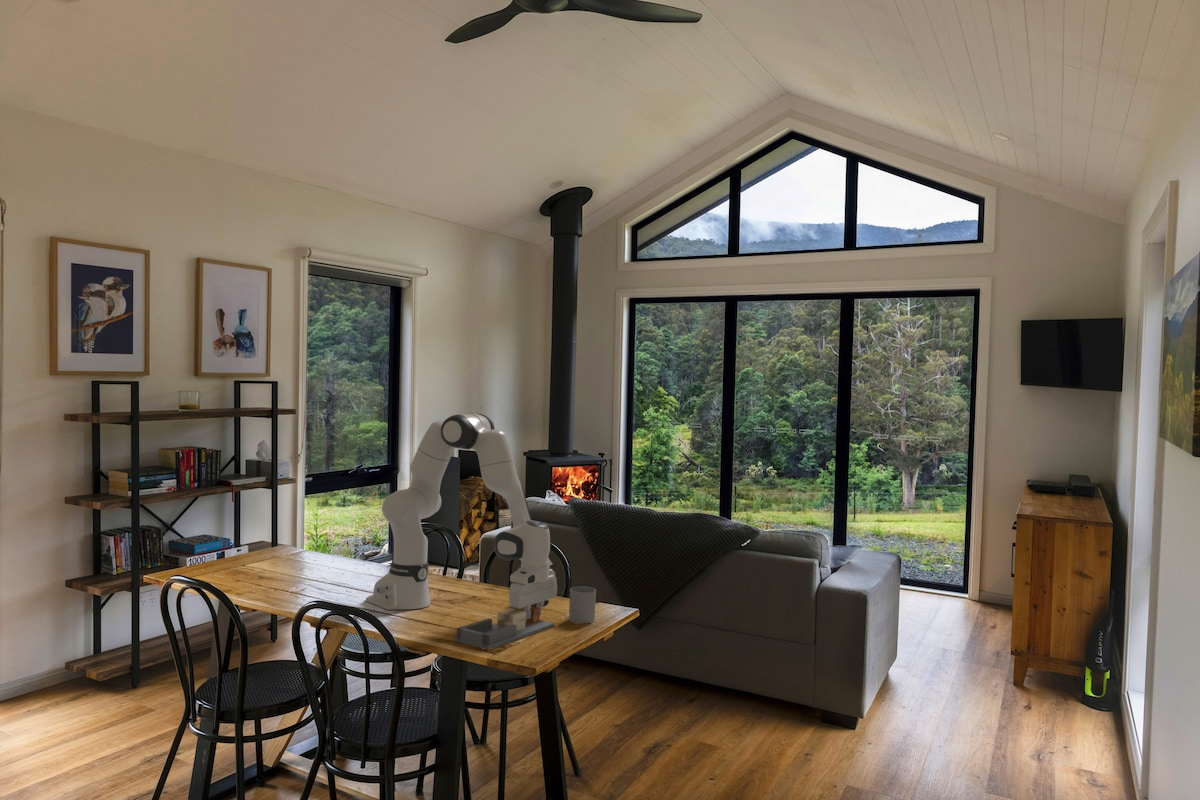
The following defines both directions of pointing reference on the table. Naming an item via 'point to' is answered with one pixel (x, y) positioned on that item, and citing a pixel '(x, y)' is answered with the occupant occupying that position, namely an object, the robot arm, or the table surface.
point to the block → (517, 618)
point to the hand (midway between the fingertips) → (533, 616)
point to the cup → (582, 604)
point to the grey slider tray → (496, 633)
